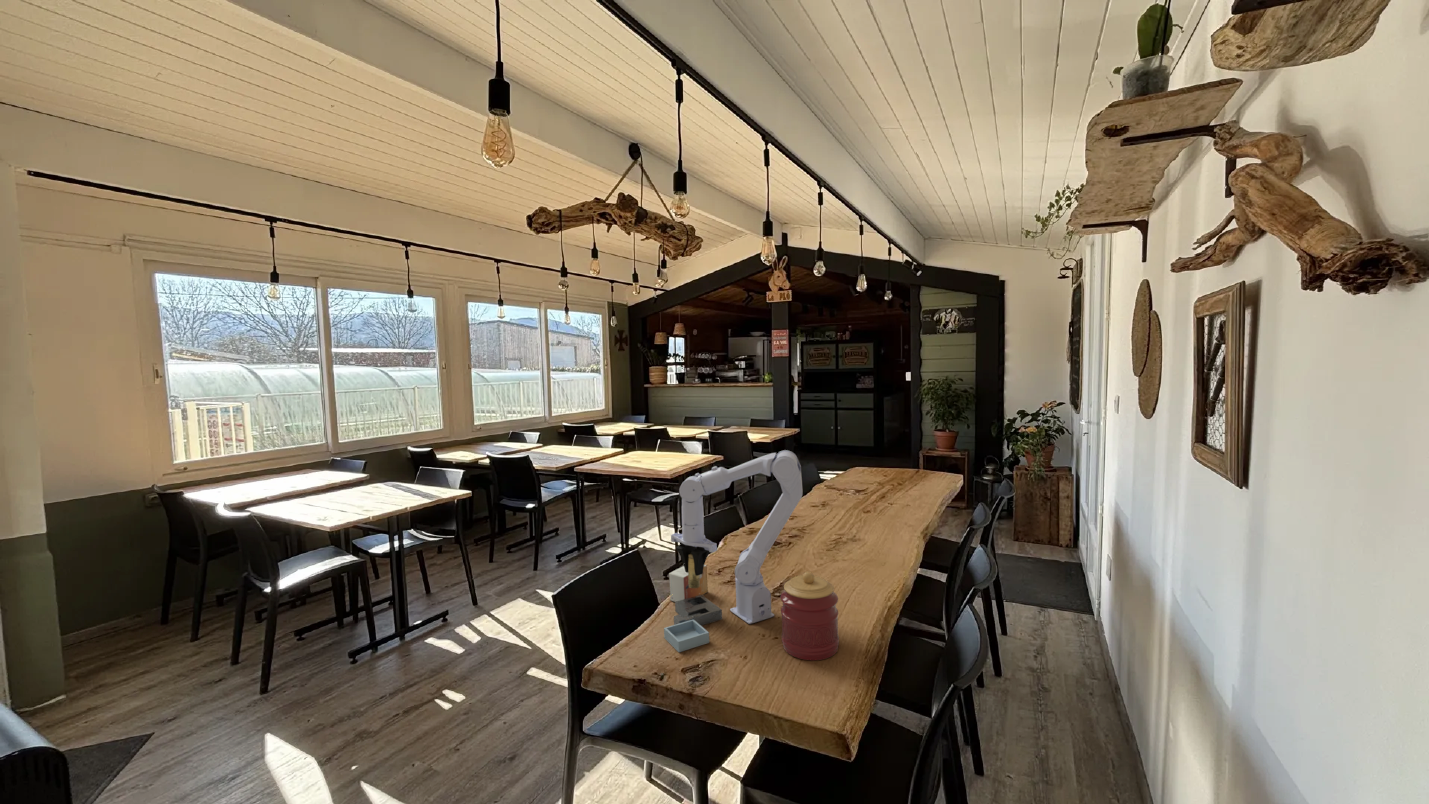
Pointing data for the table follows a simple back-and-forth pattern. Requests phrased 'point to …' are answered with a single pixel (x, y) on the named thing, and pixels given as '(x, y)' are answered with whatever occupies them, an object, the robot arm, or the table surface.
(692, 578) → the gold metallic cylinder
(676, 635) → the tray
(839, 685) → the table surface
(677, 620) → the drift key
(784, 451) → the robot arm
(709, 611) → the socket block
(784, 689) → the table surface
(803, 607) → the canister
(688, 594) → the small box
